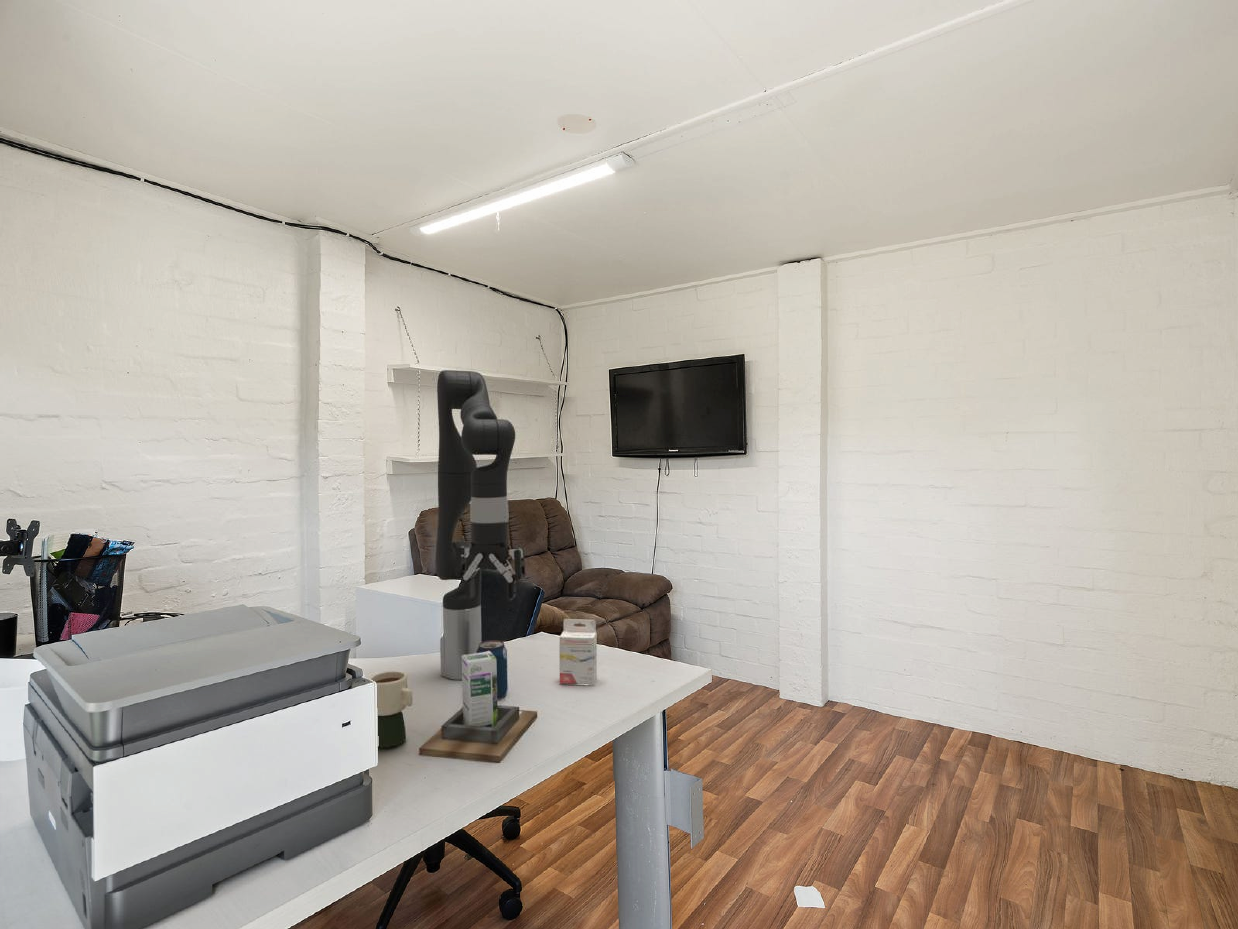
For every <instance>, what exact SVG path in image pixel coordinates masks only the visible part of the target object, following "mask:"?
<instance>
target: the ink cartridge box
mask: <svg viewBox="0 0 1238 929" xmlns="http://www.w3.org/2000/svg"><path fill="white" fill-rule="evenodd" d="M578 624H581V625H585V626H580V625H579V626H578ZM596 624H597V623H596V620H595V619H582V618H581V619H577V618H573V619H572V618H564V619H563V624H562V625H563V631H562V632H561V634H560V635H559V685H560V684H588V685H594V684H596V682H595V681H597V677H598V671H597V669H598V668H597V667H598V666H597V663H598V661H597V659H598V658H597V656H598V655H597V653H598V647H597V646H598V645H597V644H598V642H597V638H598V636H597V630H596V629H597V625H596ZM576 625H577V626H576ZM594 686H595V685H594Z"/></svg>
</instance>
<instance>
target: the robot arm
mask: <svg viewBox="0 0 1238 929" xmlns="http://www.w3.org/2000/svg"><path fill="white" fill-rule="evenodd" d="M486 383H487V382H486V380H485V378H484V377H483V375H482V374H481V373H480V372H478V371H474V370H473V371H472V370H471V371H469V370H454V369H453V370H452V369H443V370H441V371H440V372H439V374H438V376H437V383H436V384H437V385H436V387H437V388H436V389H437V390H436V393H437V397H436V398H437V416H438V458H437V459H438V461H437V497H438V499H437V503H438V505H437V507H438V508H437V509H438V510H437V512H438V515H437V518H438V520H437V533H436V542H435V543H436V545H435V546H436V547H435V571H436V575H437V577H438V578H439V579H440V580H442V581H452V580H461V579H463V582H462V583H461V584H460V585H459V586H457V587H456V588H454V589H452V590H450V591H448V592H446V593H445V594H443V596H442V621H443V622H442V623H443V624H442V625H443V626H442V627H443V629H442V630H443V632H442V633H443V636H441V637H440V639H439V646H440V647H439V649H440V650H439V652H440V655H439V656H440V676H441V677H445V678H446V679H449V680H454V681H455V680H460V681H462V656H463V655H468V654H475V653H476V652H477V649H478V647H479V644H480V643H481V642H482V610H481V609H482V606H481V604H482V600H481V599H482V570H483V571H484V570H485V571H486V570H490V571H497V570H498V572H499V573H500V574H501V575H502V576H503V577H504V578H505V580H506V581H507V582H506V583H505V584H506V585H505V588H506V589H505V590H506V592H505V596H506V600H505V601H507V602H511V601H513V600H514V598H516V596H517V581H520V580H522V579H524V578H525V577H526V576H527V575H526V574H527V572H526V558H525V550H524V547H523V548H522V547H519V548H516V549H515V548H514V549H512V548H510V546H509V541H510V540H509V538H510V533H509V531H510V530H509V529H510V528H509V523H510V522H509V516H510V513H509V503H508V470H509V465H510V460H511V456H512V453H513V449H514V445H515V441H516V429H515V427H514V426H513V423H512V422H510V421H509V420H508V419H503V418H502V419H501V418H500V419H499V418H498V417H497V414H496V413H495V411H494V410H493V408H492V406H491V403H490V398H489V392H488V388H487V384H486ZM453 410H460V412H459V413H460V416H459V417H460V420H461V423H462V425H463V426H462V429H461V434H460V432H459V430H458V428H457V425H456V423H455V421H454V415H453ZM474 455H475V456H476V455H482V456H483V455H495V458H494V460H493V461H492V462H491V463H490V464H487V465H483V466H482V465H481V466H478V465H477V461H476V459H475V457H474ZM469 505H470V507H469V508H470V509H469V510H470V511H469V512H470V514H469V515H470V516H469V518H470V519H469V520H470V528H469V529H470V531H469V532H470V540H462V541H460V540H459V541H453V539H454V534H455V529H456V527H457V525H458V522H459V520H460V519H461V517H462V515H463V514H464V513H465V510H466V509H467V507H468V506H469ZM510 556H511V559H512V560H513V561H514V562H513V563H514V569H513V567H512V565H511V563H510V562H509V561H508V558H509V557H510Z"/></svg>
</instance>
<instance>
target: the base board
mask: <svg viewBox="0 0 1238 929" xmlns="http://www.w3.org/2000/svg"><path fill="white" fill-rule="evenodd" d="M497 706H498V724H497V725H496V726H495V727H494V728H491V727H480V726H469V725H464V723H463V706H461V708H460V709H459V710H458V711H457V712H455V713H454V714H453V715H452V716H451V717H450V718H448V720H446V721H445V722H444V723H443V724H442V725H441V726H440V727H441V728H439V730H437V731H436V733H434V734H433V735H432V736H431V737H430V738H429V739H427V741H425V742H424V743H423V744H422V745H420V746H419V748H418V750H419V751H418V754H419V755H421V756H429V757H430V756H433V757H441V758H450V759H460V760H461V759H462V760H470V761H481V762H490V763H491V762H492V763H501V762H502V761H503V759H505V757H506V756H507V755H508V753H510V751H511V750H512V749H513V747H514V746H515V745H516V744H517V743H518V742H519V740H520V739H521V737H522V736H523V735H524V734H525V733H526V732H527V730H528V729H529V728H530V727H531V726H532V724H533V723H534V722H535V720H536V719H537V718H538V711H537V710H525V709H520V706H513V705H503V704H502V705H501V704H500V705H499V704H497Z"/></svg>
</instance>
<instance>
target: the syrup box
mask: <svg viewBox="0 0 1238 929" xmlns="http://www.w3.org/2000/svg"><path fill="white" fill-rule="evenodd" d="M461 681H462V682H461V683H462V707H463V723H464V725H469V726H480V727H491V728H494V727H495V726H496V725H497V724H498V706H497V705H498V700H497V662H496V658H495V656H494V655H493V654H492V653H491V652H490V651H486V652H482V653H475V654H468V655H463V656H462V679H461Z"/></svg>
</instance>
